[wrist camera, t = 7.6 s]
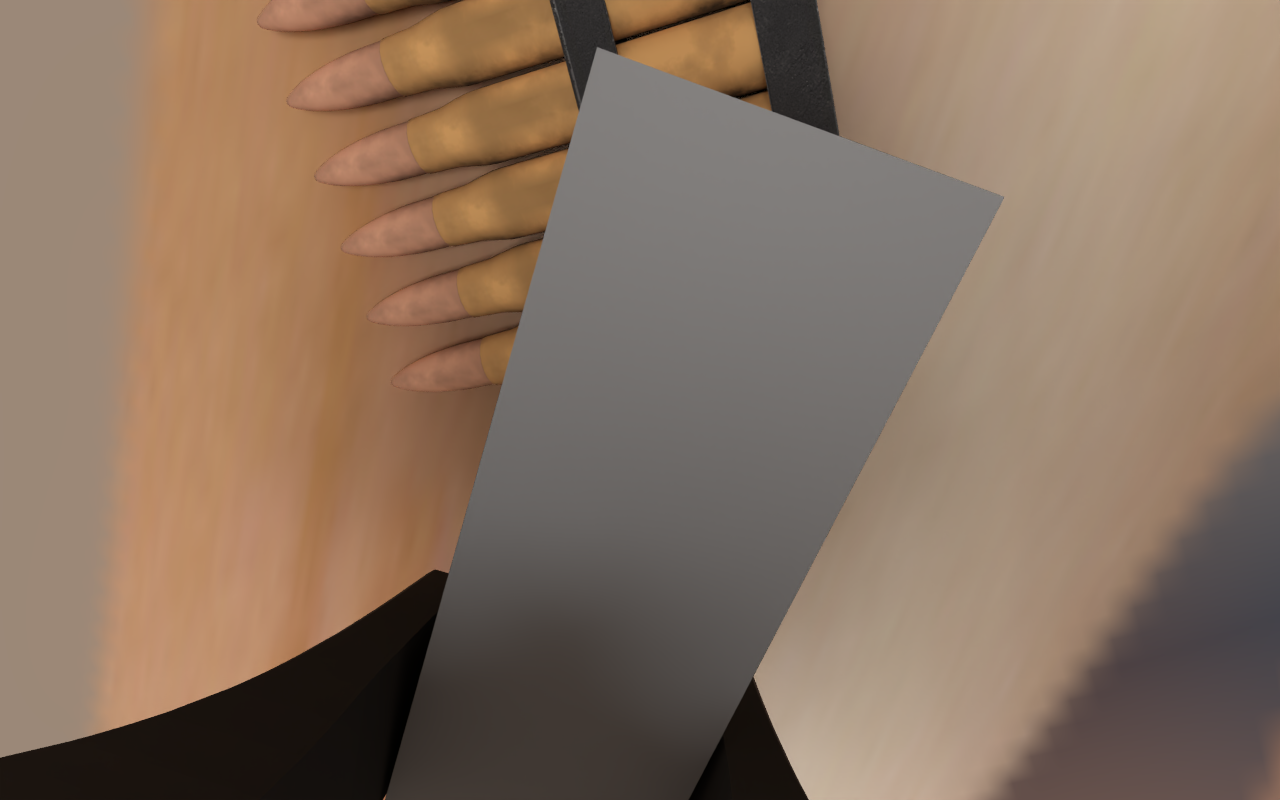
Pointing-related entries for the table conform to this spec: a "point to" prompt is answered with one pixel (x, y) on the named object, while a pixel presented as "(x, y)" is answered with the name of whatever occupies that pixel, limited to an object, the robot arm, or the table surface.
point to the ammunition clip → (521, 127)
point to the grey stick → (672, 436)
